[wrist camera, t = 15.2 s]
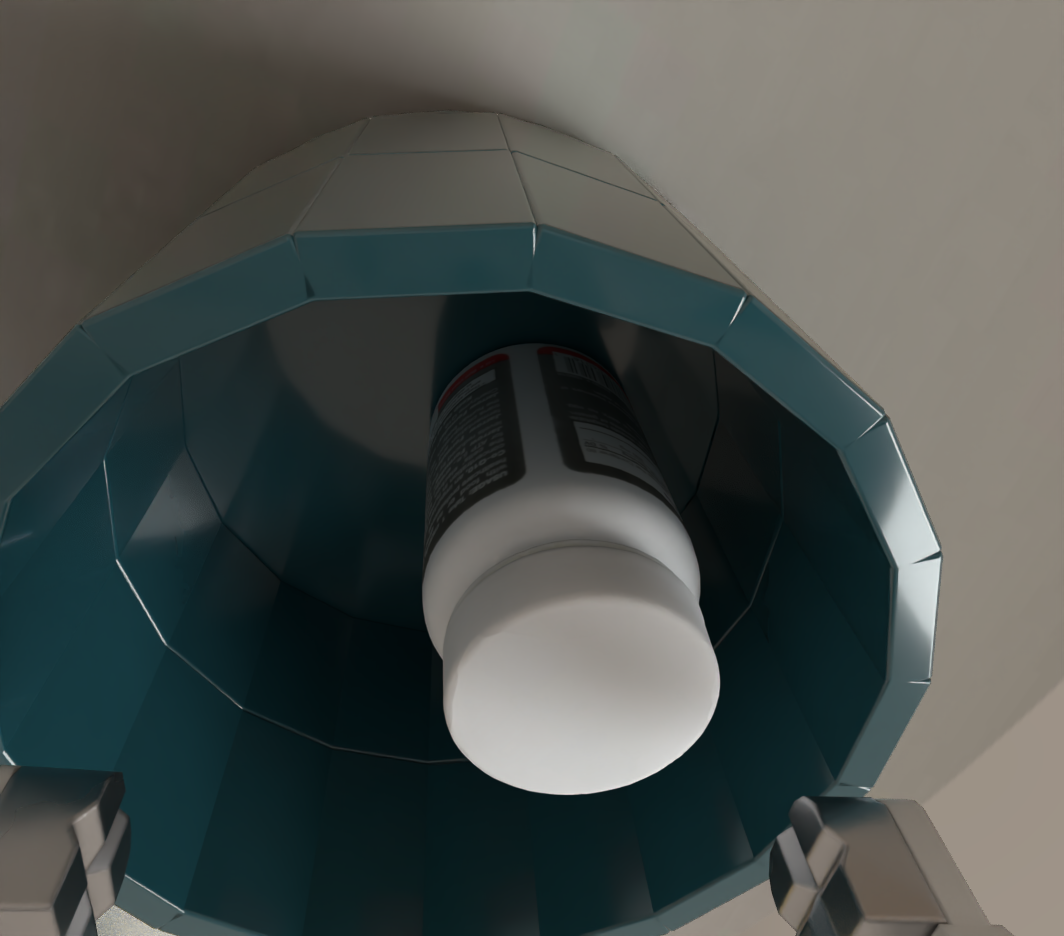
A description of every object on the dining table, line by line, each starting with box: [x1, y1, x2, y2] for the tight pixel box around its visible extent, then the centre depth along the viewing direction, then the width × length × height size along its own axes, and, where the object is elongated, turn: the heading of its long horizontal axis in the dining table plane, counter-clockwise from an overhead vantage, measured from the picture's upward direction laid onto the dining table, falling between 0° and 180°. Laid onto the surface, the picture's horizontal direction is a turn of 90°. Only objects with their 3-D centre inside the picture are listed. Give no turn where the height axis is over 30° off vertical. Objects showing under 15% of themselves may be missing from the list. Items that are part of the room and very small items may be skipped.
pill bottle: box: [422, 343, 720, 795], centre depth 15 cm, size 5×5×8 cm
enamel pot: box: [0, 110, 943, 936], centre depth 15 cm, size 13×14×9 cm
